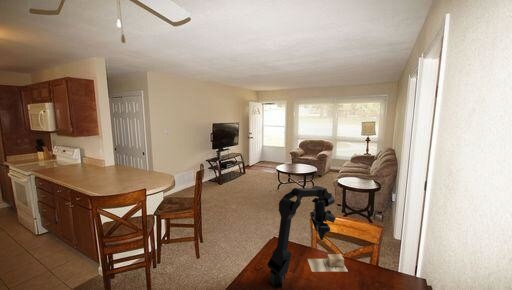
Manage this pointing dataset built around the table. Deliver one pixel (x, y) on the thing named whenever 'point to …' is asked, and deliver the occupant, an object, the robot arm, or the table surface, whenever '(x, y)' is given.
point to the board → (323, 266)
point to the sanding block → (335, 260)
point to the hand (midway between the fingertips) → (319, 235)
